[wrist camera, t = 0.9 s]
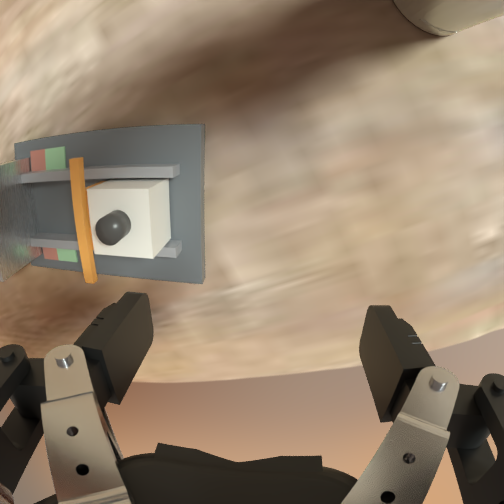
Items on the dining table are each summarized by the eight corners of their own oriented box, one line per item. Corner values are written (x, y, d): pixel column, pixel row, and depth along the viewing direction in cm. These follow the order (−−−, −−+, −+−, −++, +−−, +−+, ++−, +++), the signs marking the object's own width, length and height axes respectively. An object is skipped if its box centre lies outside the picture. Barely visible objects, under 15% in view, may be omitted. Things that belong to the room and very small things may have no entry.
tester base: (22, 142, 29) (3, 145, 26) (204, 124, 28) (195, 124, 24) (37, 260, 35) (22, 271, 32) (205, 277, 34) (198, 293, 31)
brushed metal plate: (15, 159, 28) (-32, 173, 21) (30, 157, 28) (-18, 171, 21) (28, 251, 33) (-11, 278, 26) (43, 252, 33) (3, 281, 25)
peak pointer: (100, 151, 27) (69, 159, 22) (108, 151, 27) (78, 158, 22) (110, 259, 32) (85, 282, 27) (117, 260, 32) (93, 283, 27)
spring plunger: (113, 178, 28) (74, 194, 22) (168, 177, 28) (138, 194, 22) (118, 235, 31) (83, 263, 24) (171, 238, 30) (144, 268, 24)
